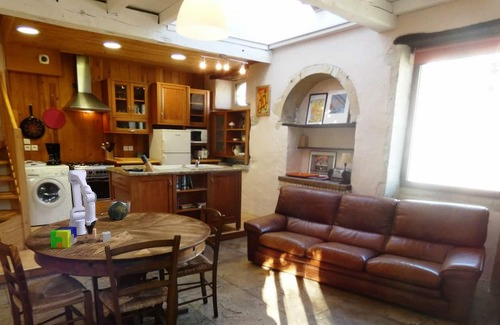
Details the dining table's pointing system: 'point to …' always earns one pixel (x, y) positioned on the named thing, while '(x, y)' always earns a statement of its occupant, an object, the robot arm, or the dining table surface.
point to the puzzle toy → (63, 237)
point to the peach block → (92, 234)
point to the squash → (118, 211)
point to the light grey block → (106, 236)
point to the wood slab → (91, 239)
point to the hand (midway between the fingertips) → (90, 233)
